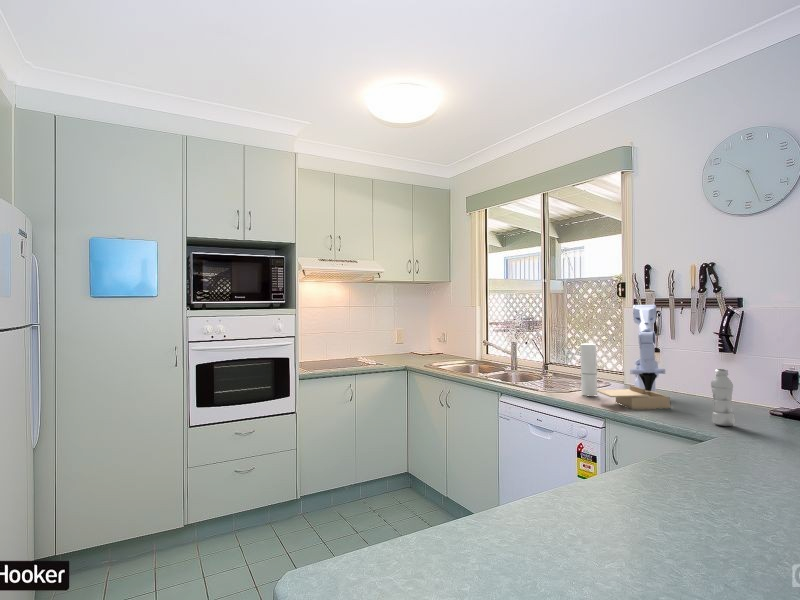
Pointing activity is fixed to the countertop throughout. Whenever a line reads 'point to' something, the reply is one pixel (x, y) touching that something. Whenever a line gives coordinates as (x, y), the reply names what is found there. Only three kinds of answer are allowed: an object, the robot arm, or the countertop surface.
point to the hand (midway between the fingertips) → (648, 390)
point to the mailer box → (645, 401)
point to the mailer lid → (625, 392)
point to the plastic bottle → (722, 399)
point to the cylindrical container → (588, 369)
